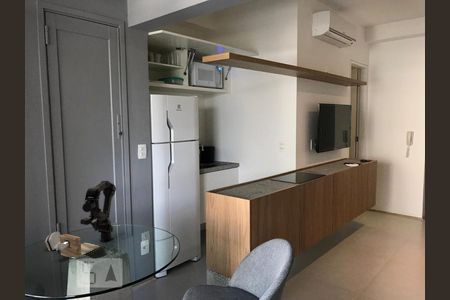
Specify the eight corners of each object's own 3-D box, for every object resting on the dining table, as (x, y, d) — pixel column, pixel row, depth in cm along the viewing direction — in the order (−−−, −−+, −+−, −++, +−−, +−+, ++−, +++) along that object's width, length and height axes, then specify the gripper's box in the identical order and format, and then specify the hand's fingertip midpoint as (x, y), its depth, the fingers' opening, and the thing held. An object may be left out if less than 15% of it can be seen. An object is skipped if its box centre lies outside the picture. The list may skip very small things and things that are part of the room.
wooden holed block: (73, 243, 211) (72, 236, 210) (78, 245, 209) (78, 237, 208) (57, 250, 201) (56, 242, 201) (62, 251, 199) (62, 243, 198)
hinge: (57, 250, 216) (50, 237, 214) (49, 253, 215) (43, 240, 214) (65, 240, 232) (59, 228, 231) (59, 243, 232) (52, 230, 230)
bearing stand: (85, 244, 224) (83, 226, 223) (99, 248, 218) (98, 229, 216) (61, 255, 209) (59, 235, 207) (76, 259, 202) (74, 239, 201)
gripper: (91, 213, 202) (93, 237, 204) (114, 205, 219) (116, 228, 220) (78, 210, 207) (80, 235, 209) (102, 203, 224) (104, 225, 226)
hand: (96, 230), depth 216 cm, fingers closed
